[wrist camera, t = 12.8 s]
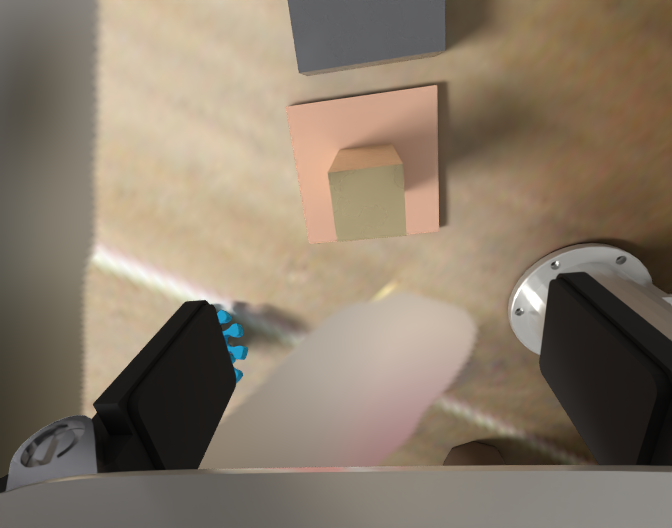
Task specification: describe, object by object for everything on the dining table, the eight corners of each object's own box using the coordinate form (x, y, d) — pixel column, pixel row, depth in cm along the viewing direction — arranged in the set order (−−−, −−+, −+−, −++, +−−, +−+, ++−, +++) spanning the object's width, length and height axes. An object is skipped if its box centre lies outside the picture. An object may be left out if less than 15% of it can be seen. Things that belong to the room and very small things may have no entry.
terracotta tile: (435, 85, 28) (437, 84, 28) (437, 228, 33) (439, 231, 33) (287, 106, 30) (285, 106, 29) (310, 240, 35) (309, 243, 34)
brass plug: (391, 143, 30) (403, 163, 21) (394, 195, 32) (406, 235, 23) (338, 149, 30) (327, 172, 21) (345, 200, 32) (337, 241, 23)
